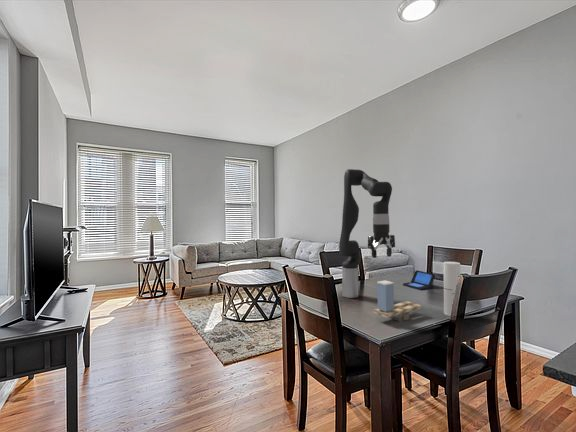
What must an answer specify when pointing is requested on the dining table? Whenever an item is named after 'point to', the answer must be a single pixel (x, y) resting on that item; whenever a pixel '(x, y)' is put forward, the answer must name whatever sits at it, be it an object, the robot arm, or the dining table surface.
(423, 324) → the dining table surface
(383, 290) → the blue rectangular block
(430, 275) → the handheld game console
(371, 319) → the dining table surface
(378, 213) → the robot arm
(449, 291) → the cylindrical container
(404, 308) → the ginger root
